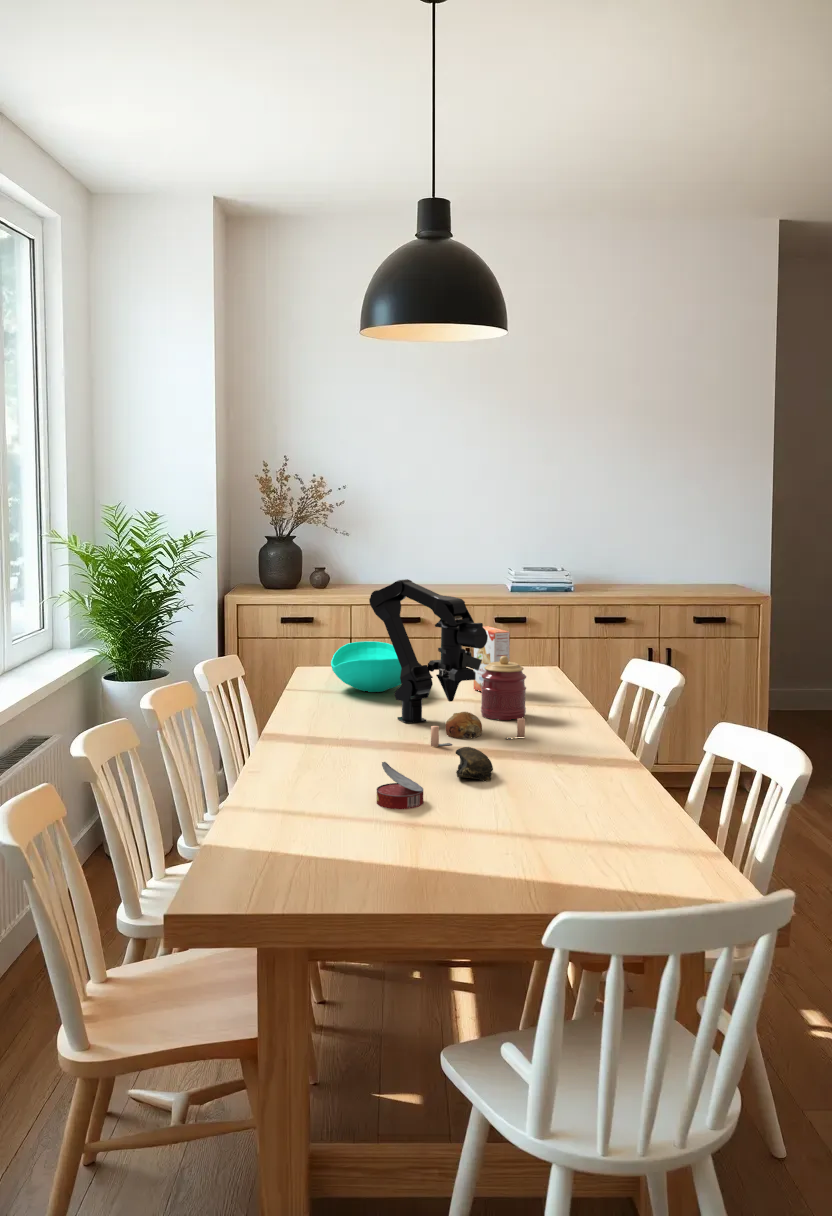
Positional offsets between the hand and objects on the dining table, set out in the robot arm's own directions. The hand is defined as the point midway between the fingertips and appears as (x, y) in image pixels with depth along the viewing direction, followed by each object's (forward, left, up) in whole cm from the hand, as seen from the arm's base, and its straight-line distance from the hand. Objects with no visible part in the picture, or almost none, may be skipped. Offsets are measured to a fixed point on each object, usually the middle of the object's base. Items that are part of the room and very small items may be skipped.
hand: (450, 701), depth 299 cm
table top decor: (-60, +1, -8) cm, 60 cm away
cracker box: (-42, +34, -8) cm, 55 cm away
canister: (-9, +21, -8) cm, 24 cm away
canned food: (+60, -40, -8) cm, 73 cm away
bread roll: (+8, 0, -8) cm, 11 cm away
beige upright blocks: (+17, 0, -8) cm, 19 cm away
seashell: (+47, -16, -8) cm, 50 cm away
